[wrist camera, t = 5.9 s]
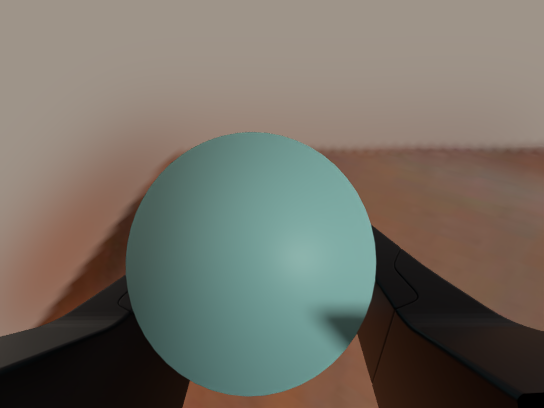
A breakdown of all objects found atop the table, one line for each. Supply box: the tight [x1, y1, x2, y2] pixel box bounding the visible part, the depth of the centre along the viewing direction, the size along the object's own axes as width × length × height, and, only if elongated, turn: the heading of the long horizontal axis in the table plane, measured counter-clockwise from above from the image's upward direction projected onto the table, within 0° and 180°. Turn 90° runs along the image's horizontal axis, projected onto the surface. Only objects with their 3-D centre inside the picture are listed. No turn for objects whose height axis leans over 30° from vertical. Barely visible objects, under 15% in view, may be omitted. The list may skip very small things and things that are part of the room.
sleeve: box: [126, 132, 376, 396], centre depth 10 cm, size 4×4×12 cm
